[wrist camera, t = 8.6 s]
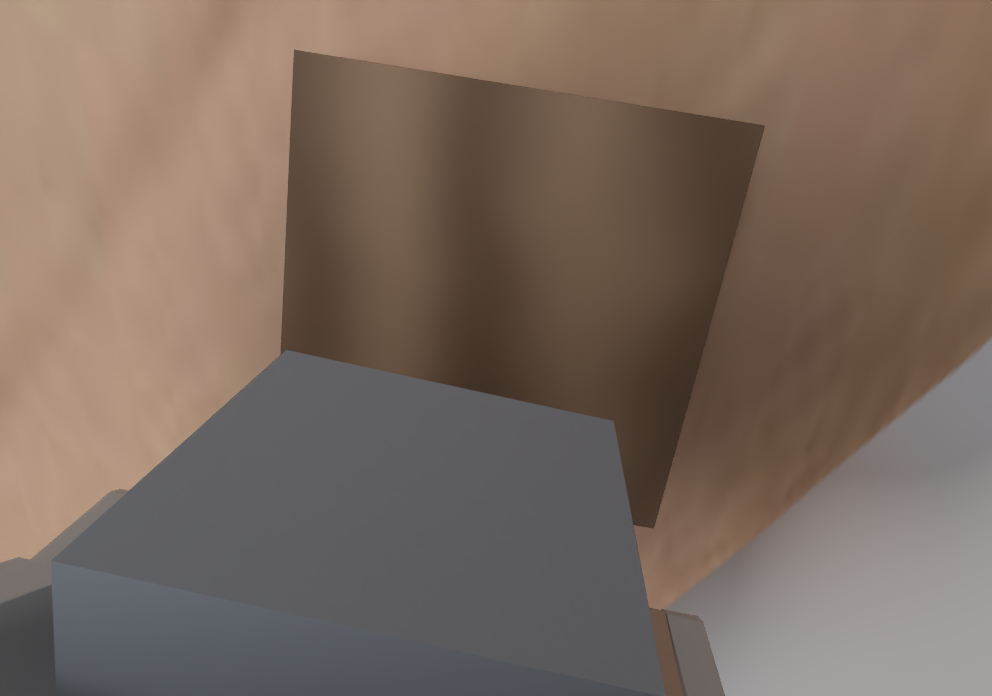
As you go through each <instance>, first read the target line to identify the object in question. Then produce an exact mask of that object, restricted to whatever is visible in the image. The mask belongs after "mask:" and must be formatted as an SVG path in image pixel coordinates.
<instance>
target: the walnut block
mask: <svg viewBox="0 0 992 696" xmlns="http://www.w3.org/2000/svg"><path fill="white" fill-rule="evenodd" d="M764 127H765V126H764V125H757V124H751V123H745V122H739V121H733V120H726V119H720V118H714V117H708V116H702V115H695V114H689V113H683V112H677V111H671V110H664V109H658V108H652V107H646V106H640V105H633V104H627V103H621V102H615V101H608V100H602V99H596V98H590V97H584V96H577V95H571V94H565V93H559V92H553V91H546V90H540V89H534V88H528V87H522V86H515V85H509V84H503V83H497V82H491V81H484V80H478V79H472V78H466V77H460V76H453V75H447V74H441V73H435V72H428V71H422V70H416V69H410V68H404V67H397V66H391V65H385V64H379V63H373V62H366V61H360V60H354V59H348V58H342V57H335V56H329V55H323V54H317V53H311V52H304V51H298V50H294V63H293V86H292V108H291V131H290V154H289V177H288V199H287V222H286V245H285V268H284V290H283V313H282V336H281V354H282V353H283V352H285V351H286V350H289V351H294V352H299V353H303V354H308V355H312V356H317V357H322V358H326V359H331V360H335V361H340V362H345V363H349V364H354V365H358V366H363V367H367V368H372V369H377V370H381V371H386V372H390V373H395V374H400V375H404V376H409V377H413V378H418V379H423V380H427V381H432V382H436V383H441V384H446V385H450V386H455V387H459V388H464V389H469V390H473V391H478V392H482V393H487V394H492V395H496V396H501V397H505V398H510V399H515V400H519V401H524V402H528V403H533V404H538V405H542V406H547V407H551V408H556V409H561V410H565V411H570V412H574V413H579V414H584V415H588V416H593V417H597V418H602V419H606V420H611V421H614V425H615V431H616V436H617V441H618V447H619V452H620V457H621V462H622V468H623V473H624V478H625V484H626V489H627V494H628V499H629V505H630V510H631V515H632V521H633V525H637V526H643V527H649V528H654V526H655V522H656V519H657V515H658V511H659V508H660V504H661V501H662V497H663V493H664V490H665V486H666V482H667V479H668V475H669V472H670V468H671V464H672V461H673V457H674V453H675V450H676V446H677V442H678V439H679V435H680V432H681V428H682V424H683V421H684V417H685V413H686V410H687V406H688V403H689V399H690V395H691V392H692V388H693V384H694V381H695V377H696V374H697V370H698V366H699V363H700V359H701V355H702V352H703V348H704V345H705V341H706V337H707V334H708V330H709V326H710V323H711V319H712V316H713V312H714V308H715V305H716V301H717V297H718V294H719V290H720V286H721V283H722V279H723V276H724V272H725V268H726V265H727V261H728V257H729V254H730V250H731V247H732V243H733V239H734V236H735V232H736V228H737V225H738V221H739V218H740V214H741V210H742V207H743V203H744V199H745V196H746V192H747V189H748V185H749V181H750V178H751V174H752V170H753V167H754V163H755V160H756V156H757V152H758V149H759V145H760V141H761V138H762V134H763V131H764Z"/></svg>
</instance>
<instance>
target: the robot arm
mask: <svg viewBox="0 0 992 696" xmlns="http://www.w3.org/2000/svg"><path fill="white" fill-rule="evenodd" d="M127 492H128V491H127V490H123V489H119V490H115V491H111V492H110V493H108V494H107V495H106V496H105V497H103V498H102V499H101V500H100V501H99V502H97V503H96V504H95V505H94V506H93V507H92V508H90V509H89V510H88V511H87V512H86V513H85V514H83V515H82V516H81V517H80V518H79V519H77V520H76V521H75V522H74V523H73V524H72V525H70V526H69V527H68V528H67V529H66V530H65V531H63V532H62V533H61V534H60V535H59V536H57V537H56V538H55V539H54V540H53V541H52V542H50V543H49V544H48V545H47V546H46V547H45V548H43V549H42V550H41V551H40V552H39V553H37V554H36V555H35V556H34V557H33V558H32V559H30V560H29V559H24V558H20V557H18V558H15V559H12V560H9V561H5V562H2V563H0V696H56V678H55V653H54V627H53V602H52V576H51V560H52V559H53V558H55V557H56V556H57V555H58V554H59V553H60V552H61V551H62V550H63V549H65V548H66V547H67V546H68V545H69V544H70V543H71V542H72V541H73V540H75V539H76V538H77V537H78V536H79V535H80V534H81V533H82V532H84V531H85V530H86V529H87V528H88V527H89V526H90V525H91V524H92V523H94V522H95V521H96V520H97V519H98V518H99V517H100V516H101V515H103V514H104V513H105V512H106V511H107V510H108V509H109V508H110V507H111V506H113V505H114V504H115V503H116V502H117V501H118V500H119V499H120V498H122V497H123V496H124V495H125V494H126V493H127ZM649 611H650V616H651V621H652V626H653V632H654V637H655V642H656V648H657V653H658V658H659V663H660V669H661V674H662V679H663V685H664V690H665V695H666V696H725V694H724V691H723V687H722V684H721V681H720V677H719V674H718V671H717V667H716V664H715V661H714V657H713V654H712V651H711V648H710V644H709V641H708V637H707V634H706V631H705V627H704V624H703V621H702V620H701V619H700V618H699V617H698V616H695V615H689V614H684V613H679V612H674V611H669V610H663V609H662V610H658V609H653V608H649Z"/></svg>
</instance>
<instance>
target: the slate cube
mask: <svg viewBox="0 0 992 696" xmlns="http://www.w3.org/2000/svg"><path fill="white" fill-rule="evenodd" d="M51 576H52V602H53V627H54V653H55V678H56V696H666V695H665V690H664V685H663V679H662V674H661V669H660V663H659V658H658V653H657V648H656V642H655V637H654V632H653V626H652V621H651V616H650V611H649V605H648V600H647V595H646V589H645V584H644V579H643V574H642V568H641V563H640V558H639V552H638V547H637V542H636V537H635V531H634V526H633V521H632V515H631V510H630V505H629V499H628V494H627V489H626V484H625V478H624V473H623V468H622V462H621V457H620V452H619V447H618V441H617V436H616V431H615V425H614V421H611V420H606V419H602V418H597V417H593V416H588V415H584V414H579V413H574V412H570V411H565V410H561V409H556V408H551V407H547V406H542V405H538V404H533V403H528V402H524V401H519V400H515V399H510V398H505V397H501V396H496V395H492V394H487V393H482V392H478V391H473V390H469V389H464V388H459V387H455V386H450V385H446V384H441V383H436V382H432V381H427V380H423V379H418V378H413V377H409V376H404V375H400V374H395V373H390V372H386V371H381V370H377V369H372V368H367V367H363V366H358V365H354V364H349V363H345V362H340V361H335V360H331V359H326V358H322V357H317V356H312V355H308V354H303V353H299V352H294V351H289V350H286V351H285V352H283V353H282V354H281V355H280V356H279V357H278V358H277V359H276V360H274V361H273V362H272V363H271V364H270V365H269V366H268V367H267V368H266V369H264V370H263V371H262V372H261V373H260V374H259V375H258V376H257V377H255V378H254V379H253V380H252V381H251V382H250V383H249V384H248V385H247V386H245V387H244V388H243V389H242V390H241V391H240V392H239V393H238V394H237V395H235V396H234V397H233V398H232V399H231V400H230V401H229V402H228V403H226V404H225V405H224V406H223V407H222V408H221V409H220V410H219V411H218V412H216V413H215V414H214V415H213V416H212V417H211V418H210V419H209V420H207V421H206V422H205V423H204V424H203V425H202V426H201V427H200V428H199V429H197V430H196V431H195V432H194V433H193V434H192V435H191V436H190V437H188V438H187V439H186V440H185V441H184V442H183V443H182V444H181V445H180V446H178V447H177V448H176V449H175V450H174V451H173V452H172V453H171V454H170V455H168V456H167V457H166V458H165V459H164V460H163V461H162V462H161V463H159V464H158V465H157V466H156V467H155V468H154V469H153V470H152V471H151V472H149V473H148V474H147V475H146V476H145V477H144V478H143V479H142V480H140V481H139V482H138V483H137V484H136V485H135V486H134V487H133V488H132V489H130V490H129V491H128V492H127V493H126V494H125V495H124V496H123V497H122V498H120V499H119V500H118V501H117V502H116V503H115V504H114V505H113V506H111V507H110V508H109V509H108V510H107V511H106V512H105V513H104V514H103V515H101V516H100V517H99V518H98V519H97V520H96V521H95V522H94V523H92V524H91V525H90V526H89V527H88V528H87V529H86V530H85V531H84V532H82V533H81V534H80V535H79V536H78V537H77V538H76V539H75V540H73V541H72V542H71V543H70V544H69V545H68V546H67V547H66V548H65V549H63V550H62V551H61V552H60V553H59V554H58V555H57V556H56V557H55V558H53V559H52V560H51Z"/></svg>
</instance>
